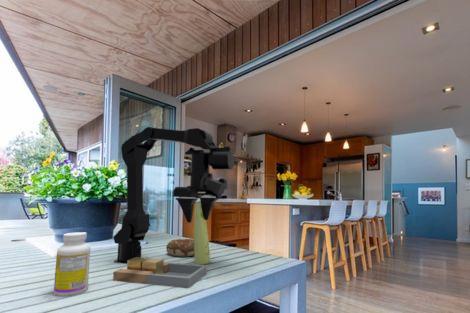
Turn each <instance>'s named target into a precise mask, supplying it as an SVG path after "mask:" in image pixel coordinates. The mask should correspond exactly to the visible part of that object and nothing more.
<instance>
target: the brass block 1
mask: <svg viewBox="0 0 470 313" xmlns="http://www.w3.org/2000/svg"><path fill="white" fill-rule="evenodd" d="M148 259H150V258H149V257H142V256H141V257H135V258H133V259H130V260H127V263H126V269H128V270H139V271H142V262H143V261H145V260H148Z"/></svg>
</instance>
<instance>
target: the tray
mask: <svg viewBox="0 0 470 313" xmlns="http://www.w3.org/2000/svg"><path fill="white" fill-rule="evenodd" d="M168 263H169V270H168V272H167V273H165V274H164V275H161V274H150V273H149V274H147V284H146V285H153V286H163V287H172V288H174V287H175V288H182V289H184V288H185V289H190V288H191V287H192V286H194V285H195V284H196V283H197V282H198V281H199V280H201V279H202V278H203V277H205V276H206V275H207V271H208V270H207V269H208V266H207V265H206V264H203V265H199V264H190V263H178V262H177V263H176V262H168Z"/></svg>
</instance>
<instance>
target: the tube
mask: <svg viewBox="0 0 470 313" xmlns="http://www.w3.org/2000/svg"><path fill="white" fill-rule="evenodd" d="M194 205H195V206H194V219H193V220H194V222H193V223H194V224H193V239H194V256H193V257H194V265H207V264H209V263H210V262H211V254H210V253H211V252H210V242H209V233H208V225H207V220H204V217H203V212H202V207H201V201H200V200H199V201H196V202H195V204H194Z"/></svg>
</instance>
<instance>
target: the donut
mask: <svg viewBox="0 0 470 313" xmlns="http://www.w3.org/2000/svg"><path fill="white" fill-rule="evenodd" d="M165 249H166V252H167V253H168V254H169V255H170V256H174V257H181V258H182V257H184V258H185V257H194V238H178V239H177V238H176V239H172V240H171V241H169V242H167V245H166V247H165Z"/></svg>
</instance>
